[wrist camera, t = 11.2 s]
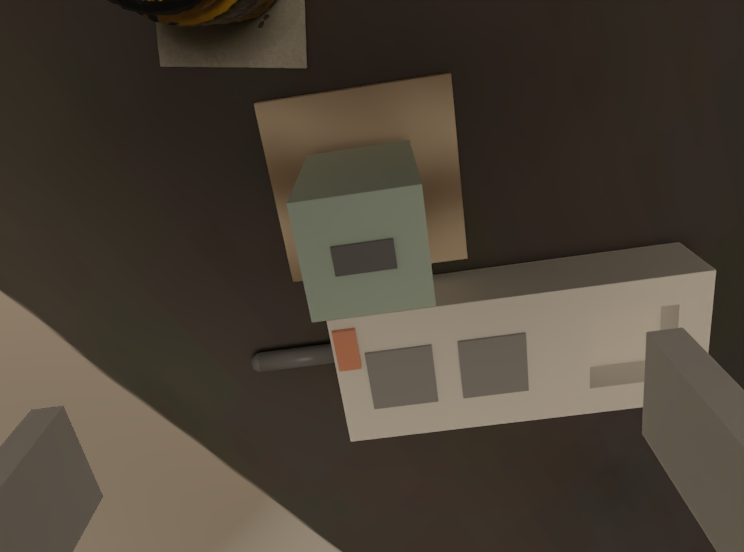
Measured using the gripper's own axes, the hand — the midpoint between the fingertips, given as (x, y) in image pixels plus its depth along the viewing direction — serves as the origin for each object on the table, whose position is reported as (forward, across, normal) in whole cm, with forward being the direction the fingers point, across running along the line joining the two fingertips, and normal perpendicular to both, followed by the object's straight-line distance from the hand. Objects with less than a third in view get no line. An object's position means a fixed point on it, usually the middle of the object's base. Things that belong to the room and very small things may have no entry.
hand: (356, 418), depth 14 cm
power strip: (+21, +4, -10) cm, 23 cm away
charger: (+20, 0, 0) cm, 20 cm away
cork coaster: (+21, 0, 0) cm, 21 cm away
